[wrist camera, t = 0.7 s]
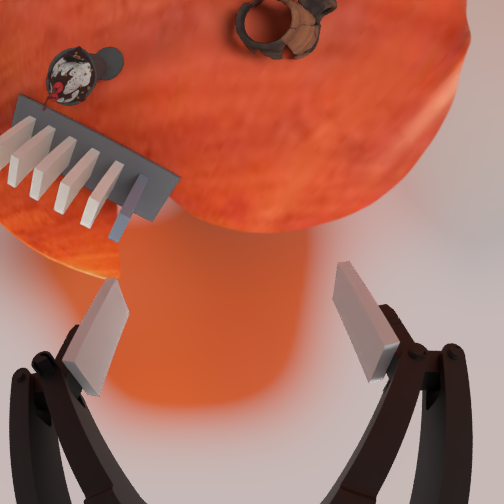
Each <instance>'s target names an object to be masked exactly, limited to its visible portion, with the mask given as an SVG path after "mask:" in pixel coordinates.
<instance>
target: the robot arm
mask: <svg viewBox="0 0 504 504" xmlns="http://www.w3.org/2000/svg"><path fill="white" fill-rule="evenodd" d="M333 301H334V303H335V306H336V308H337V310H338V312H339V315H340V317H341V319H342V321H343V323H344V326H345V328H346V330H347V333H348V335H349V337H350V339H351V342H352V344H353V347H354V349H355V351H356V353H357V356H358V358H359V361H360V363H361V365H362V368H363V370H364V373H365V375H366V378H367V380H368V383H372V382H377V381H381V380H383V378H384V376H385V374H386V373H387V375H388V377H389V380H388V382H387V384H386V386H385V388H384V390H383V391H384V392H383V394H382V396H381V399H380V401H379V403H378V405H377V408H376V410H375V412H374V414H373V416H372V419H371V420H370V423H369V425H368V427H367V428H366V431H365V433H364V434H363V436H362V438H361V440H360V442H359V444H358V446H357V447H356V449H355V451H354V453H353V455H352V456H351V458H350V460H349V462H348V463H347V465H346V467H345V468H344V470H343V472H342V473H341V475H340V476H339V478H338V480H337V481H336V483H335V484H334V486H333V487H332V489H331V490H330V492H329V493H328V494H327V496H326V497H325V498H324V500H323V501H322V502H321V503H320V504H376V496H377V494H378V492H379V490H380V488H381V486H382V484H383V483H384V481H385V479H386V477H387V475H388V473H389V470H390V468H391V466H392V464H393V462H394V460H395V458H396V455H397V453H398V450H399V448H400V446H401V443H402V441H403V439H404V436H405V433H406V431H407V428H408V425H409V423H410V420H411V417H412V414H413V411H414V408H415V405H416V402H417V399H418V396H419V392H420V390H423V392H422V419H421V432H420V443H419V453H418V460H417V467H416V474H415V479H414V484H413V490H412V494H411V499H410V504H468V500H469V492H470V483H471V472H472V470H471V469H472V448H473V447H472V446H473V443H472V442H473V435H472V410H471V397H470V388H469V379H468V372H467V365H466V359H465V354H464V351H463V349H462V348H461V347H460V346H458V345H456V344H453V343H451V344H447V345H445V346H444V347H443V349H442V351H428V350H427V349H426V348H425V347H424V346H423V345H421V344H419V343H415V342H414V341H413V339H412V338H411V336H410V334H409V333H408V332H407V330H406V328H405V326H404V325H403V324H402V322H401V320H400V319H399V318H398V316H397V314H396V313H395V311H394V310H393V309H392V308H391V307H389V306H388V305H387V304H384V305H377V303H376V301H375V300H374V299H373V297H372V295H371V293H370V292H369V290H368V289H367V287H366V285H365V284H364V282H363V281H362V279H361V278H360V276H359V275H358V273H357V272H356V271H355V269H354V267H353V266H352V264H351V263H350V261H348V262H339V263H338V264H337V271H336V280H335V286H334V293H333ZM128 316H129V311H128V308H127V305H126V303H125V300H124V297H123V295H122V292H121V289H120V286H119V284H118V281H117V278H114V279H106V280H105V282H104V284H103V285H102V287H101V288H100V290H99V292H98V293H97V295H96V297H95V299H94V300H93V302H92V304H91V305H90V307H89V309H88V311H87V313H86V314H85V316H84V318H83V320H82V322H81V324H80V325H75V326H74V327H73V328H72V329H71V330H70V331H69V333H68V335H67V337H66V339H65V341H64V344H63V345H62V347H61V349H60V351H59V353H58V354H57V356H56V359H54V358H53V356H52V355H51V354H50V352H48V351H43V352H40V353H38V354H37V355H36V356H35V357H34V358H33V360H32V367H33V369H34V370H35V371H36V373H34V374H31V373H30V372H29V371H28V370H27V369H26V368H20V369H18V370H17V371H16V372H15V373H14V375H13V377H12V384H11V395H10V396H11V397H10V416H9V417H10V418H9V438H10V457H11V468H12V478H13V485H14V492H15V497H16V502H17V504H72V503H71V500H70V496H69V492H68V488H67V484H66V480H65V476H64V471H63V467H62V461H61V456H60V449H59V443H58V438H59V441H60V443H61V446H62V448H63V450H64V453H65V455H66V458H67V460H68V462H69V464H70V467H71V469H72V471H73V473H74V475H75V477H76V479H77V481H78V483H79V485H80V487H81V489H82V491H83V493H84V495H85V497H86V499H85V500H84V504H147V503H146V502H144V500H143V499H142V498H141V497H140V496H139V494H138V493H137V492H136V490H135V489H134V487H133V486H132V485H131V483H130V481H129V480H128V479H127V477H126V476H125V474H124V472H123V471H122V469H121V468H120V466H119V465H118V463H117V461H116V460H115V458H114V456H113V455H112V453H111V451H110V450H109V448H108V446H107V444H106V443H105V441H104V439H103V437H102V435H101V434H100V431H99V430H98V427H97V426H96V424H95V422H94V419H93V418H92V415H91V413H90V411H89V409H88V407H87V405H86V403H85V400H84V398H83V396H82V395H81V391H82V388H83V390H84V391H85V392H86V393H87V395H92V396H100V393H101V390H102V387H103V384H104V381H105V378H106V375H107V372H108V369H109V366H110V363H111V361H112V358H113V355H114V352H115V349H116V347H117V344H118V341H119V338H120V336H121V334H122V331H123V328H124V326H125V323H126V321H127V318H128Z"/></svg>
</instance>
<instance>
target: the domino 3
mask: <svg viewBox="0 0 504 504" xmlns="http://www.w3.org/2000/svg"><path fill="white" fill-rule="evenodd" d="M76 142H77V140H76V139H75V138H73V137H71V136H69V137H67V138H66V139H65V140H64V141H63V142H62V143H60V144H59V145H58V146H57V147H56V148H55V149H54V150H53V151H51V152H50V153H49V154H48V155H47V156H46V157H45V158H44V159H43V160H42V161H41V162H40V163H39V164H38V165H37V166H36V167H35V168H34V172H33V177H32V183H31V189H30V197H31V198H33V199H35V200H37V201H38V200H39V199H40V198H41V196H42V195H43V194H44V193H45V192H46V190H47V189H48V188H49V187H50V186H51V184H52V183H53V182H54V181H55V180H56V179H57V177H58V176H59V175H60V174H61V173H62V172H63V171H64V170H65V169H66V167H67V166H68V165H69V163H70V159H71V156H72V153H73V150H74V148H75V145H76Z"/></svg>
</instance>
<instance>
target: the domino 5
mask: <svg viewBox="0 0 504 504" xmlns="http://www.w3.org/2000/svg"><path fill="white" fill-rule="evenodd" d="M123 167H124V164H122V163H120V162H118V161H116V160H115V162H114V163H113V164H112V166H111V167H110V168H109V170H108V171H107V172H106V174H105V175H104V176H103V178H102V179H101V181H100V182H99V183H98V185H97V186H96V188H95V189H94V191H93V192H92V193H91V195H90V196H89V199H88V202H87V204H86V207H85V210H84V213H83V216H82V219H81V222H80V224H82V225H83V226H85V227H87V228H89V229H90V228H91V226H92V224H93V222H94V220H95V218H96V217H97V215H98V213H99V211H100V210H101V208H102V206H103V204H104V203H105V201H106V199H107V198H108V196H109V194H110V193H111V191H112V190H113V188H114V185H115V183H116V181H117V179H118V177H119V175H120V173H121V171H122V169H123Z"/></svg>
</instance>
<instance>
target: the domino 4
mask: <svg viewBox="0 0 504 504" xmlns="http://www.w3.org/2000/svg"><path fill="white" fill-rule="evenodd" d="M99 154H100V152H99V151H98V150H96V149H94V148H91V149H90V150H89V151H88V152H87V153H86V154H85V155H84V156H83V157H82V158H81V159H80V160H79V162H78V163H77V164H76V165H75V166H74V167H73V168H72V169H71V170H70V171H69V173H68V174H67V175H66V176H65V177H64V178H63V180H62V181H61V182H60V186H59V190H58V194H57V198H56V202H55V206H54V210H55V211H57V212H59V213H61V214H62V215H63V214H64V212H65V211H66V209H67V208H68V206H69V205H70V204H71V202H72V201H73V199H74V198H75V196H76V195H77V194H78V192H79V191H80V190H81V188H82V187H83V186H84V184H85V183H86V182H87V180H88V179H89V178H90V176H91V174H92V171H93V168H94V166H95V163H96V161H97V159H98V156H99Z"/></svg>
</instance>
